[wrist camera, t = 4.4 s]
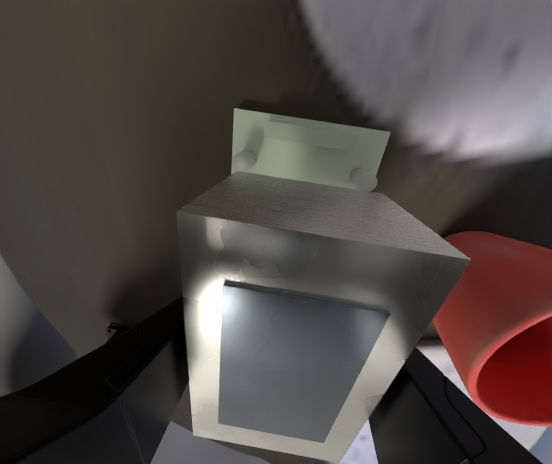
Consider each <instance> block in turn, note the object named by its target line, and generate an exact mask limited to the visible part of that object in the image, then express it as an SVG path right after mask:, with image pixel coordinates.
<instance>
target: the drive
mask: <svg viewBox="0 0 552 464" xmlns="http://www.w3.org/2000/svg"><path fill="white" fill-rule="evenodd" d="M176 216H177V229H178V242H179V255H180V268H181V281H182V294H183V307H184V320H185V333H186V346H187V359H188V372H189V385H190V397H191V410H192V423H193V435H195V436H200V437H205V438H210V439H216V440H221V441H226V442H232V443H237V444H242V445H248V446H253V447H258V448H264V449H269V450H274V451H280V452H285V453H290V454H296V455H301V456H306V457H311V458H317V459H322V460H327V461H333V462H338V463H340V461H341V460H342V458H343V456H344V455H345V453H346V452H347V450H348V449H349V447H350V446H351V444H352V443H353V441H354V440H355V438H356V436H357V435H358V433H359V432H360V430H361V429H362V427H363V426H364V424H365V423H366V421H367V420H368V418H369V416H370V415H371V413H372V412H373V410H374V409H375V407H376V406H377V404H378V403H379V401H380V400H381V398H382V396H383V395H384V393H385V392H386V390H387V389H388V387H389V386H390V384H391V383H392V381H393V380H394V378H395V376H396V375H397V373H398V372H399V370H400V369H401V367H402V366H403V364H404V363H405V361H406V360H407V358H408V356H409V355H410V353H411V352H412V350H413V349H414V347H415V346H416V344H417V343H418V341H419V340H420V338H421V336H422V335H423V333H424V332H425V330H426V329H427V327H428V326H429V324H430V323H431V321H432V320H433V318H434V316H435V315H436V313H437V312H438V310H439V309H440V307H441V306H442V304H443V303H444V301H445V300H446V298H447V296H448V295H449V293H450V292H451V290H452V289H453V287H454V286H455V284H456V283H457V281H458V280H459V278H460V276H461V275H462V273H463V272H464V270H465V269H466V267H467V266H468V264H469V263H470V261H471V259H470V258H468V257H467V256H466V255H464V254H463V253H462V252H460V251H459V250H458V249H456V248H455V247H454V246H452V245H451V244H450V243H448V242H447V241H445V240H444V239H443V238H441V237H440V236H439V235H437V234H436V233H435V232H433V231H432V230H431V229H429V228H428V227H427V226H425V225H424V224H423V223H421V222H420V221H419V220H417V219H416V218H414V217H413V216H412V215H410V214H409V213H408V212H406V211H405V210H404V209H402V208H401V207H400V206H398V205H397V204H396V203H394V202H393V201H392V200H390V199H389V198H388V197H386V196H385V195H384V194H382V193H375V192H369V191H363V190H356V189H350V188H343V187H337V186H331V185H324V184H318V183H312V182H305V181H299V180H293V179H286V178H280V177H274V176H267V175H261V174H255V173H248V172H242V171H236V172H235V173H233V174H232V175H230V176H229V177H227V178H226V179H224V180H223V181H221V182H220V183H218V184H217V185H215V186H214V187H212V188H211V189H209V190H208V191H206V192H205V193H203V194H202V195H200V196H199V197H197V198H196V199H194V200H193V201H191V202H190V203H188V204H187V205H185V206H184V207H182V208H181V209H179V210H178V211H176Z"/></svg>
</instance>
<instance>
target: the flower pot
mask: <svg viewBox="0 0 552 464" xmlns="http://www.w3.org/2000/svg"><path fill="white" fill-rule="evenodd" d="M443 239H444V240H445V241H447V242H448V243H450V244H451V245H452V246H454V247H455V248H456V249H458V250H459V251H460V252H462V253H463V254H464V255H466V256H467V257H468V258H470V259H471V261H470V263H469V264H468V266H467V267H466V269H465V270H464V272H463V273H462V275H461V276H460V278H459V280H458V281H457V283H456V284H455V286H454V287H453V289H452V290H451V292H450V293H449V295H448V296H447V298H446V300H445V301H444V303H443V304H442V306H441V307H440V309H439V310H438V312H437V313H436V315H435V316H434V318H433V320H432V321H433V323H434V325H435V327H436V329H437V332H438V334H439V336H440V338H441V340H442V342H443V344H444V346H445V348H446V350H447V352H448V354H449V356H450V358H451V360H452V362H453V364H454V366H455V368H456V370H457V372H458V374H459V376H460V378H461V380H462V382H463V384H464V386H465V387H466V389H467V391H468V393H469V395H470V397H471V398H472V400H473V401H474V402H475V403H476V405H477V406H479V407H480V408H481V409H482V410H483V411H485V412H486V413H488V414H490V415H492V416H494V417H496V418H499V419H502V420H505V421H508V422H513V423H518V424H524V425H534V426H552V249H548V248H545V247H541V246H538V245H534V244H530V243H526V242H523V241H519V240H515V239H511V238H507V237H504V236H500V235H497V234H493V233H489V232H484V231H464V232H459V233H455V234H452V235H449V236H447V237H445V238H443Z"/></svg>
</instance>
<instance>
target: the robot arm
mask: <svg viewBox="0 0 552 464" xmlns="http://www.w3.org/2000/svg"><path fill="white" fill-rule="evenodd" d="M106 332H107V336H108V339H109V340H108V341H107V342H106V343H105V344H104V345H102V346H101V347H99V348H97V349H95V350H94V351H92V352H90V353H88V354H86V355H85V356H83V357H81V358H79V359H77V360H75V361H74V362H72V363H70V364H68V365H66V366H65V367H63V368H61V369H59V370H57V371H56V372H54V373H52V374H50V375H48V376H46V377H45V378H43V379H41V380H39V381H37V382H35V383H33V384H31V385H29V386H27V387H25V388H22V389H20V390H18V391H16V392H13V393H10V394H7V395H4V396H1V397H0V464H150V463H151V461H152V459H153V457H154V455H155V452H156V450H157V448H158V446H159V444H160V442H161V439H162V437H163V435H164V433H165V431H166V428H167V426H168V424H169V422H170V420H171V418H172V416H173V414H174V412H175V409H176V407H177V405H178V403H179V401H180V399H181V396H182V394H183V392H184V390H185V388H186V386H187V384H188V381H189V372H188V359H187V346H186V333H185V320H184V307H183V295H182V296H181V297H179V298H177V299H176V300H174V301H173V302H171V303H170V304H168V305H167V306H165V307H163V308H162V309H160V310H159V311H157V312H156V313H154V314H153V315H151V316H150V317H148V318H146V319H145V320H143V321H142V323H141V322H140V323H139V324H137V325H135V326H134V327H132V328H131V329H126V328H121V327H115V326H108V327H107V328H106ZM368 419H369V424H370V428H371V433H372V437H373V442H374V446H375V451H376V455H377V460H378V464H543V463H541V462H540V461H539V460H538V459H537V458H536V457H534V456H533V455H532V454H531V453H530V452H529V451H528V450H527V449H525V448H524V447H523V446H522V445H521V444H520V443H519V442H517V441H516V440H515V439H514V438H513V437H512V436H511V435H509V434H508V433H507V432H506V431H505V430H504V429H503V428H501V427H500V426H499V425H498V424H497V423H496V422H495V421H494V420H492V419H491V418H490V417H489V416H488V415H487V414H486V413H485V412H484V411H482V410H481V409H480V408H479V407H478V406H477V405H476V404H475V403H474V402H473V401H471V400H470V399H469V398H468V397H467V396H466V395H465V394H464V393H463V392H462V391H461V390H460V389H459V388H458V387H457V386H456V385H455V384H454V383H452V382H451V381H450V380H449V379H448V378H447V377H446V376H444V374H443V373H442V372H441V371H440V370H439V369H438V368H437V367H436V366H435V365H434V364H433V363H432V362H431V361H430V360H429V359H428V358H427V357H426V356H425V355H423V354H422V353H421V352H420V351H419V350H418V349H417V348H416V347H414V349H413V350H412V352H411V353H410V355H409V356H408V358H407V360H406V361H405V363H404V364H403V366H402V367H401V369H400V370H399V372H398V373H397V375H396V376H395V378H394V380H393V381H392V383H391V384H390V386H389V387H388V389H387V390H386V392H385V393H384V395H383V396H382V398H381V400H380V401H379V403H378V404H377V406H376V407H375V409H374V410H373V412H372V413H371V415H370V416H369V418H368Z"/></svg>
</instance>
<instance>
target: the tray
mask: <svg viewBox="0 0 552 464" xmlns="http://www.w3.org/2000/svg"><path fill="white" fill-rule="evenodd" d="M390 133H391V132H388V131H381V130H375V129H368V128H361V127H355V126H348V125H342V124H335V123H328V122H322V121H315V120H309V119H302V118H295V117H289V116H282V115H275V114H269V113H262V112H256V111H249V110H242V109H236V108H234V122H233V145H232V169H231V175H232V174H233V173H235V172H236V171H242V172H248V173H255V174H261V175H267V176H274V177H280V178H286V179H293V180H299V181H305V182H312V183H318V184H324V185H331V186H337V187H343V188H350V189H356V190H363V191H369V192H371V191H372V190H373V189H374V188H375V187H376V185H377V178H376V174H377V171H378V168H379V165H380V162H381V159H382V156H383V154H384V151H385V148H386V145H387V142H388V139H389V136H390Z"/></svg>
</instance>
